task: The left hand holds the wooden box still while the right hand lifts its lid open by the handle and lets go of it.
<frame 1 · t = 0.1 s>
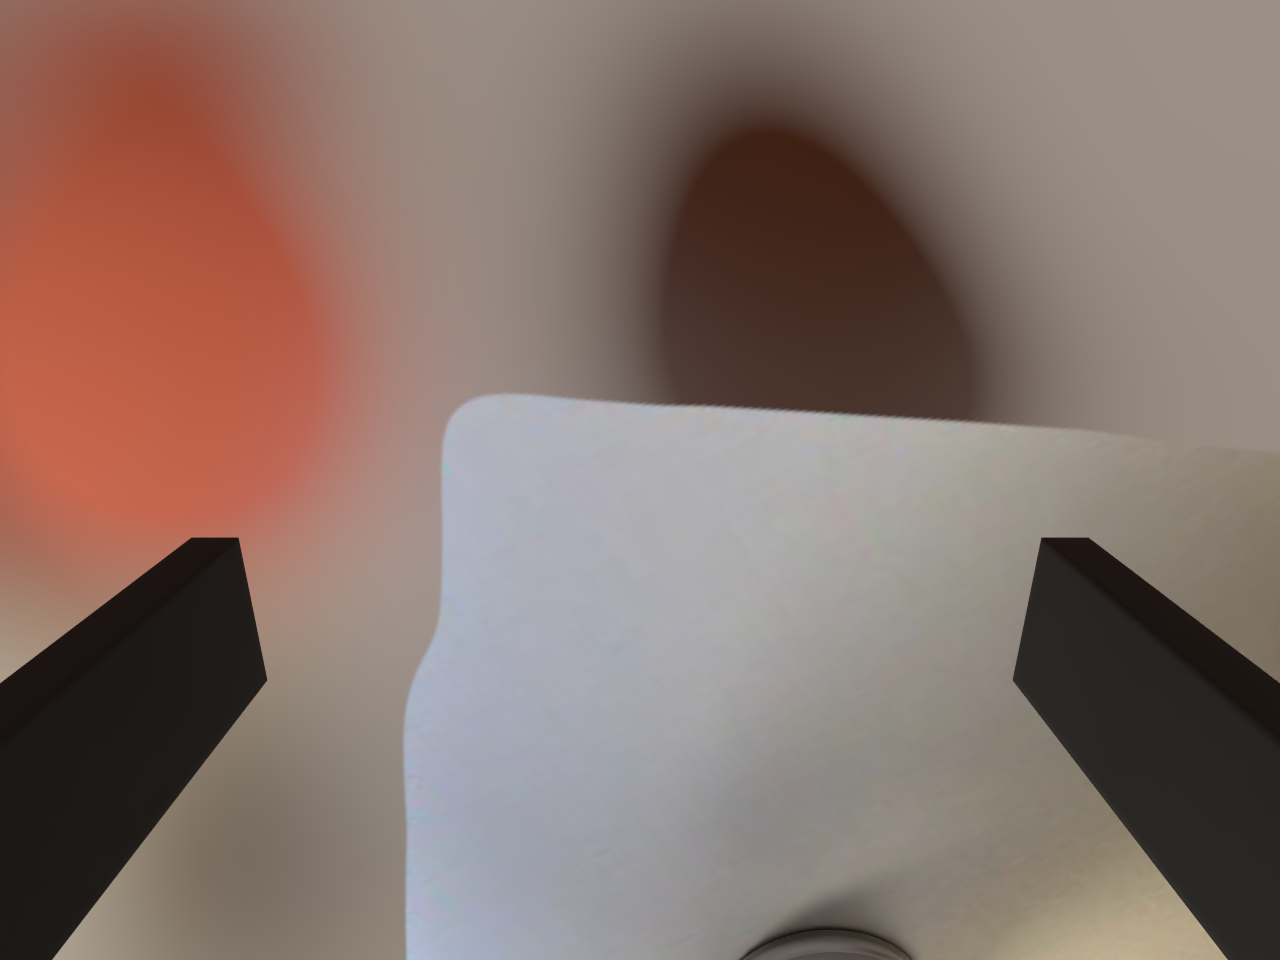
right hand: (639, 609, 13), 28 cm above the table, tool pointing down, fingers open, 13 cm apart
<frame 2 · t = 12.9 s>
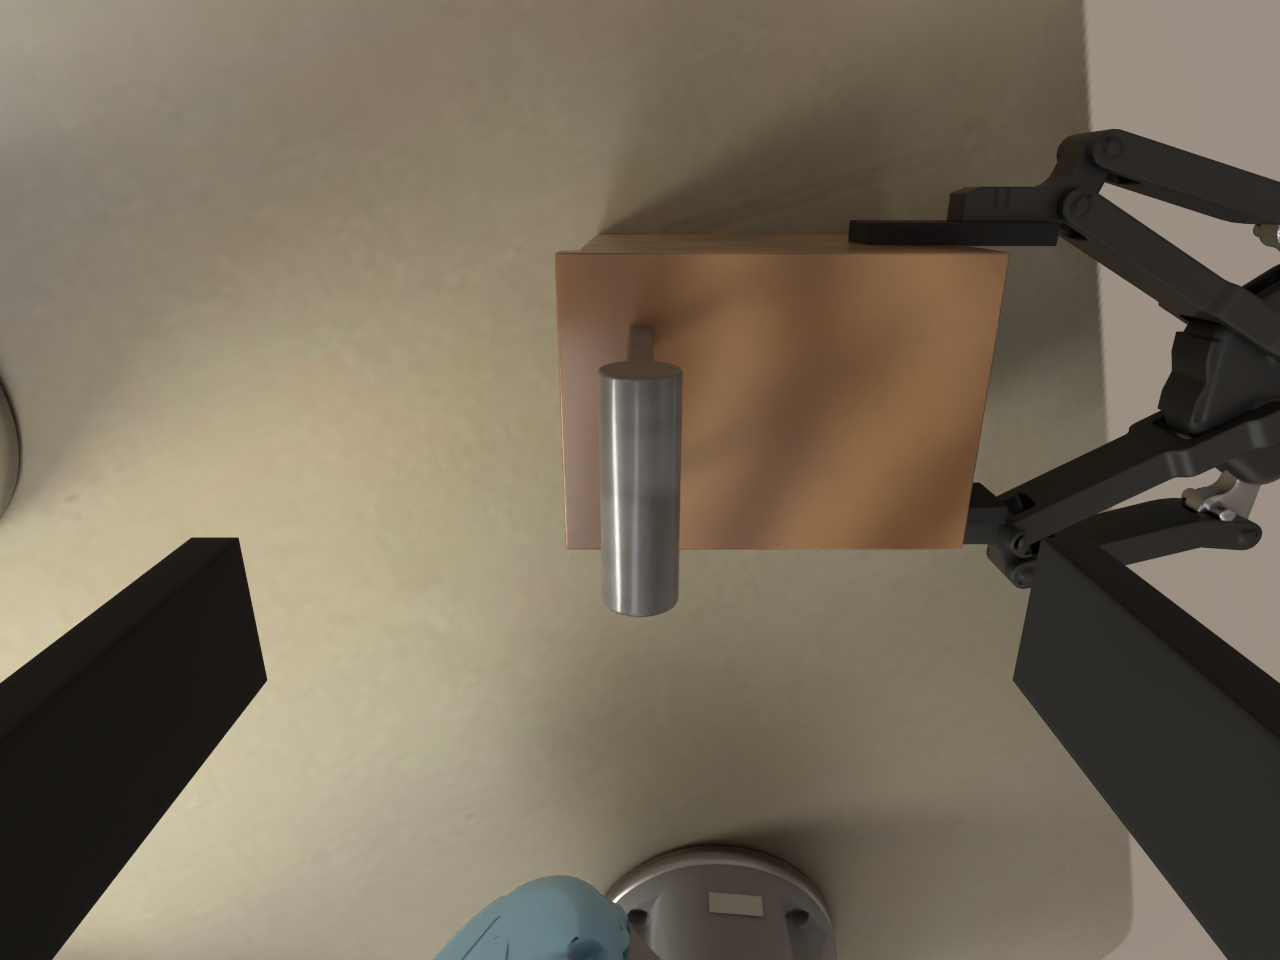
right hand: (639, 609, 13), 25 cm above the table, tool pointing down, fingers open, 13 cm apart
left hand: (844, 376, 29), fingers closed on wooden box, 10 cm apart
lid: (792, 444, 21), point 16 cm above the table, hinge at 0.0°
wooden box: (737, 343, 36), on the table, touching left hand
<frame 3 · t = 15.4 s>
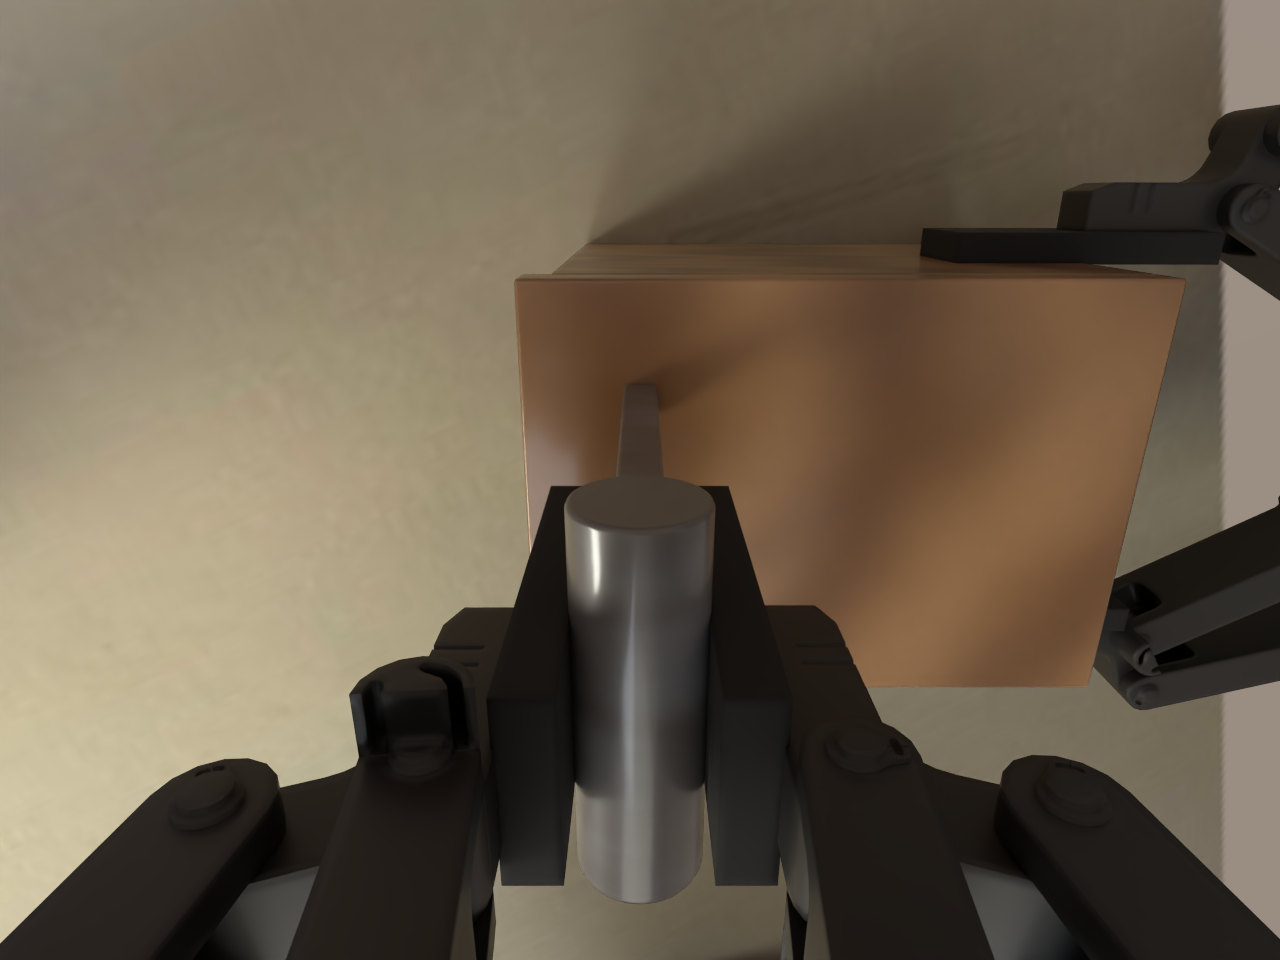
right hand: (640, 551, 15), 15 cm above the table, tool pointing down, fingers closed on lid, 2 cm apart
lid: (873, 575, 14), point 16 cm above the table, hinge at 0.1°, touching right hand
wooden box: (763, 381, 28), on the table, touching left hand
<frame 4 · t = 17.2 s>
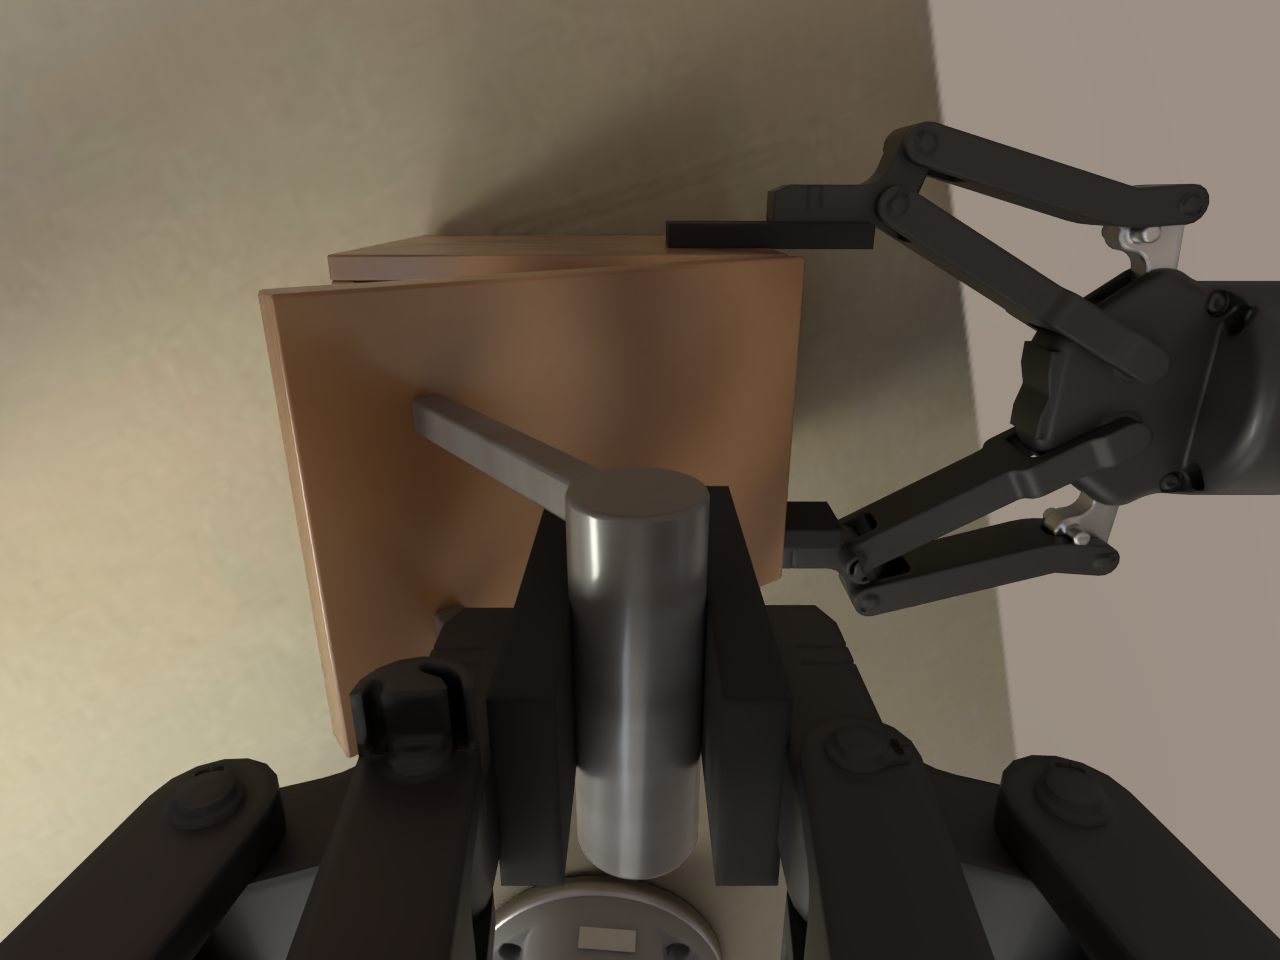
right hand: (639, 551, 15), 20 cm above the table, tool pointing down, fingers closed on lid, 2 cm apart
left hand: (665, 389, 27), fingers closed on wooden box, 10 cm apart
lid: (697, 525, 16), point 19 cm above the table, hinge at 36.4°, touching right hand
wooden box: (583, 352, 34), on the table, touching left hand
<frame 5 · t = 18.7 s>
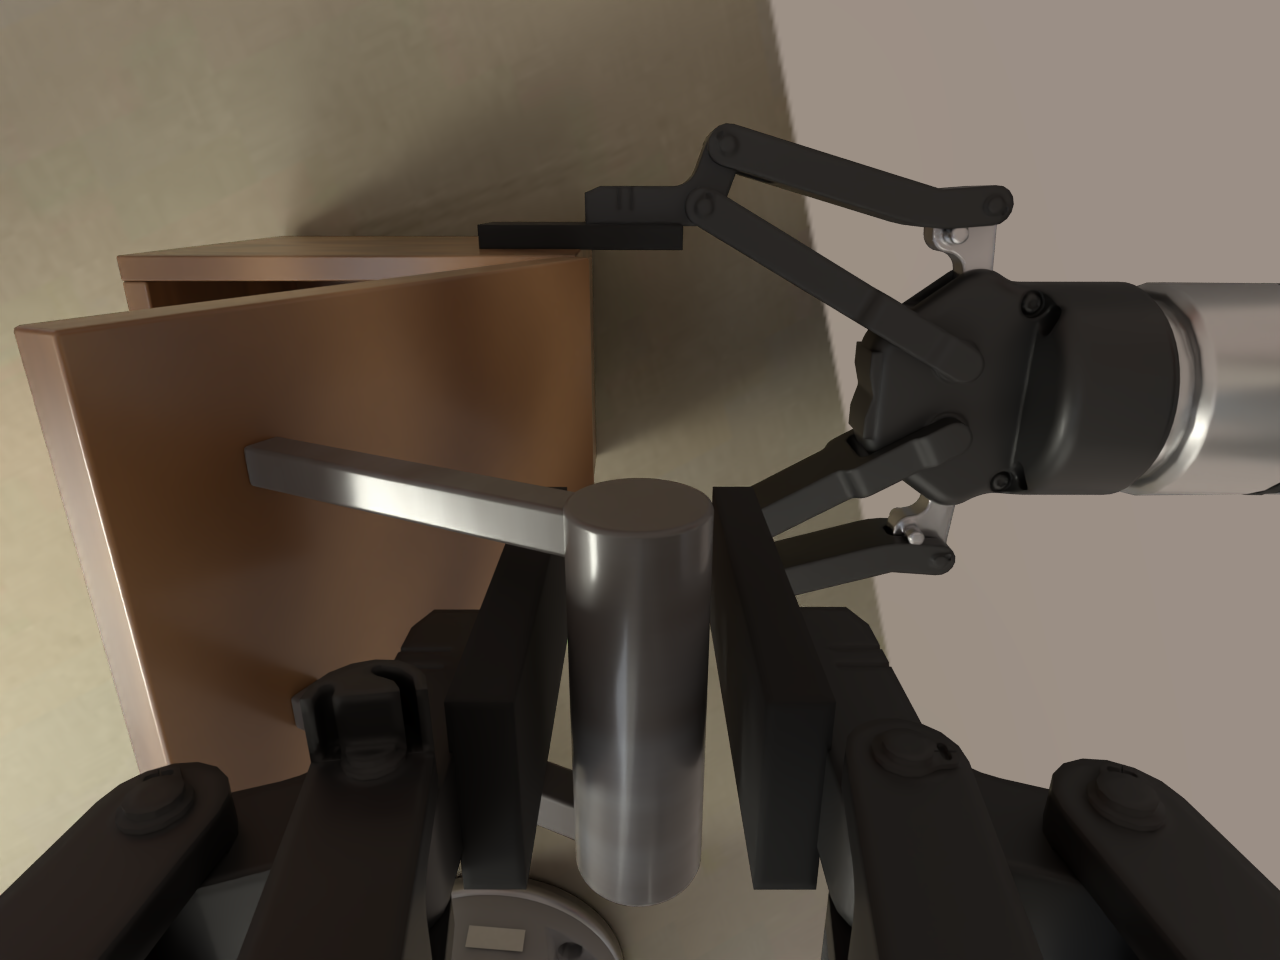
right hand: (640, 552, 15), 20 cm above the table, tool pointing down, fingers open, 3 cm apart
left hand: (496, 389, 27), fingers closed on wooden box, 10 cm apart
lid: (577, 534, 16), point 19 cm above the table, hinge at 62.9°
wooden box: (446, 352, 34), on the table, touching left hand
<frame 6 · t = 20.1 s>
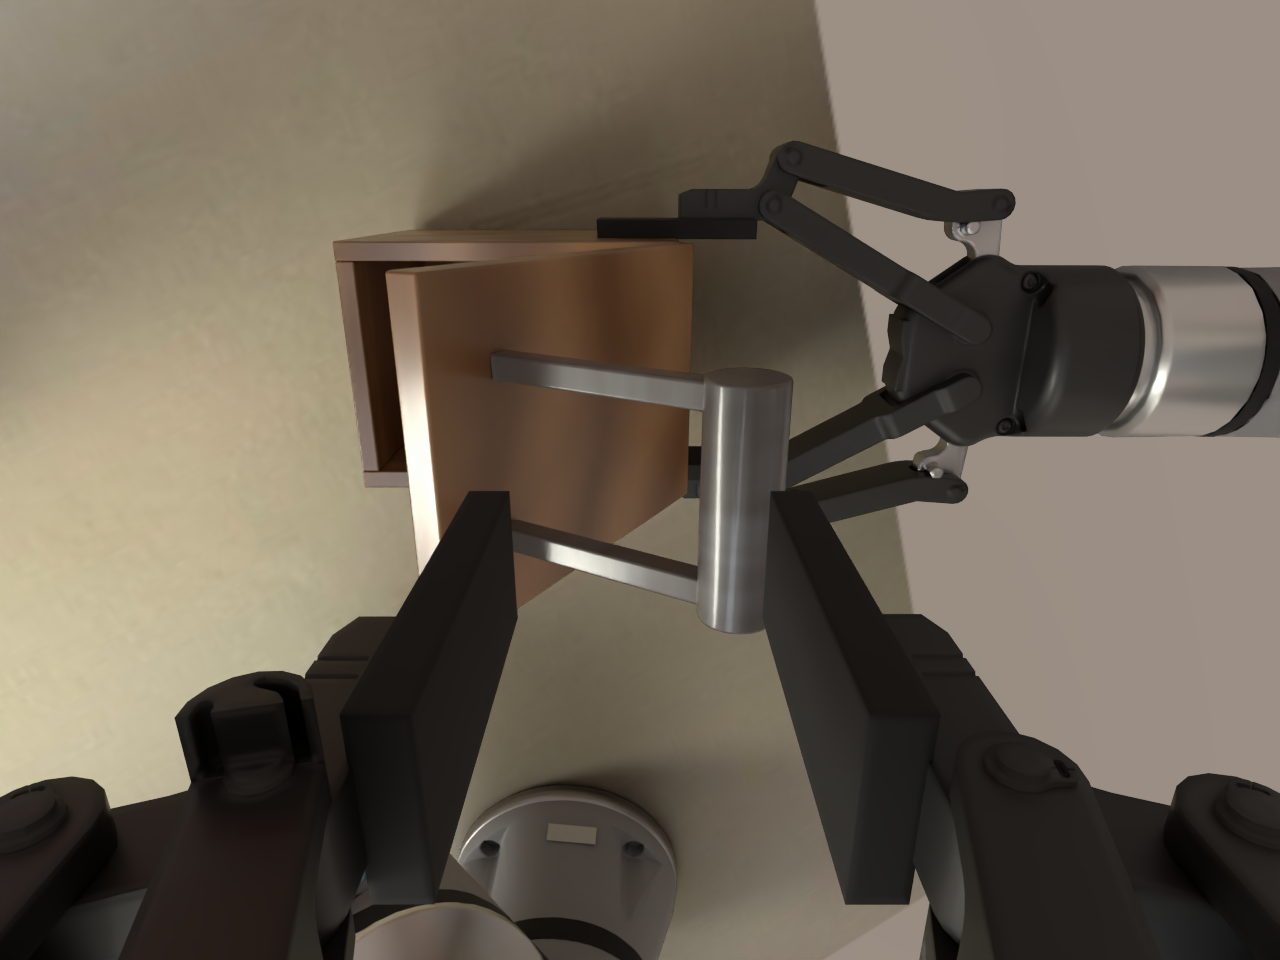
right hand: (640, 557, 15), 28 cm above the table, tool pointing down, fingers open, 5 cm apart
left hand: (600, 351, 34), fingers closed on wooden box, 10 cm apart
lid: (689, 432, 22), point 19 cm above the table, hinge at 58.5°
wooden box: (543, 327, 40), on the table, touching left hand
when the left hand's fingers open (7 cm above the table, at t = 22.2 s): wooden box stays where it is, on the table.
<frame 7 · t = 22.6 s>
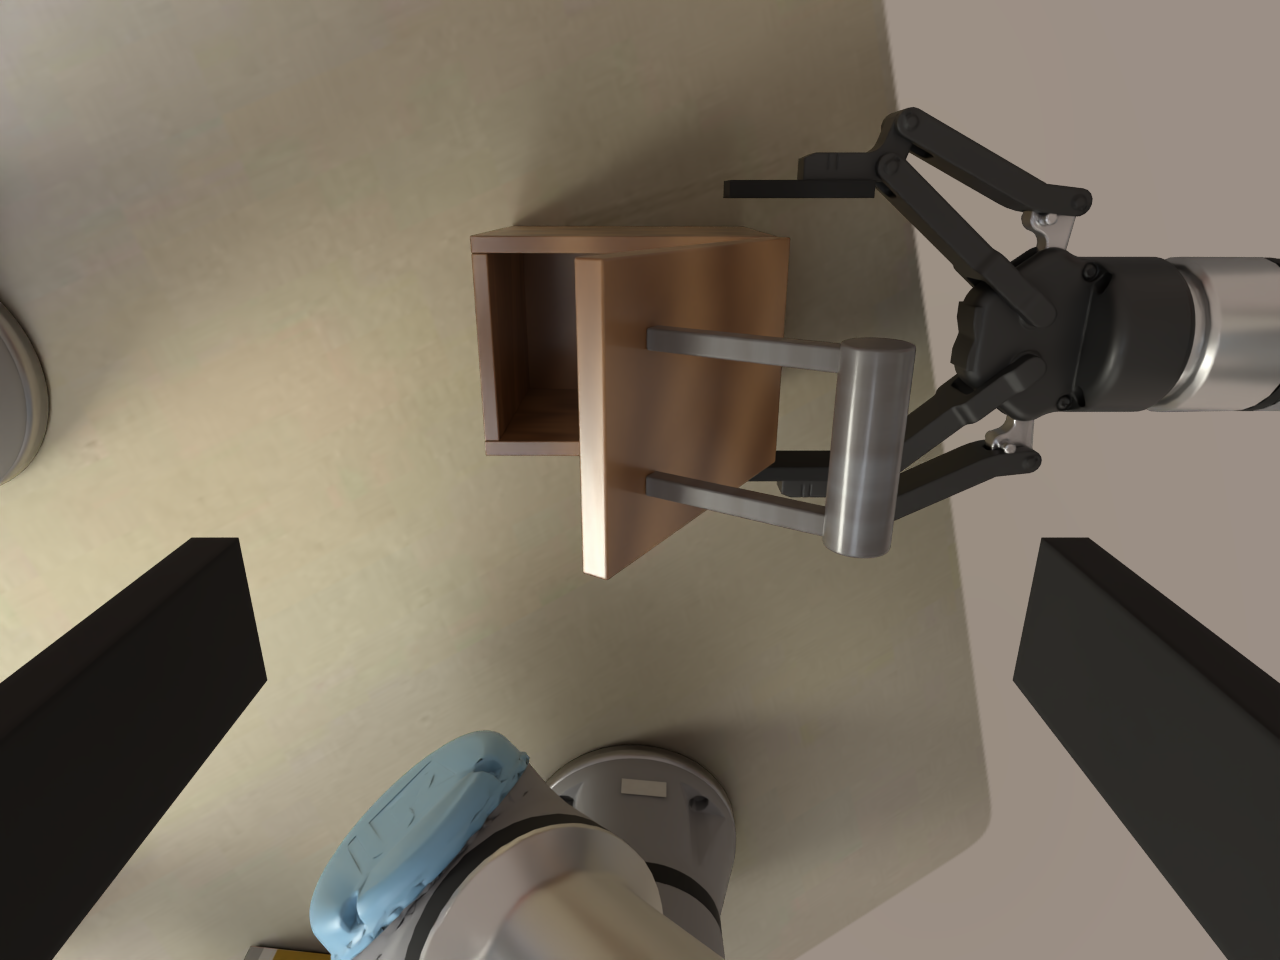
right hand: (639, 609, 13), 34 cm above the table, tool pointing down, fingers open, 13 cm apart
left hand: (720, 336, 38), fingers open, 13 cm apart
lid: (801, 399, 26), point 19 cm above the table, hinge at 57.9°
wooden box: (627, 315, 44), on the table
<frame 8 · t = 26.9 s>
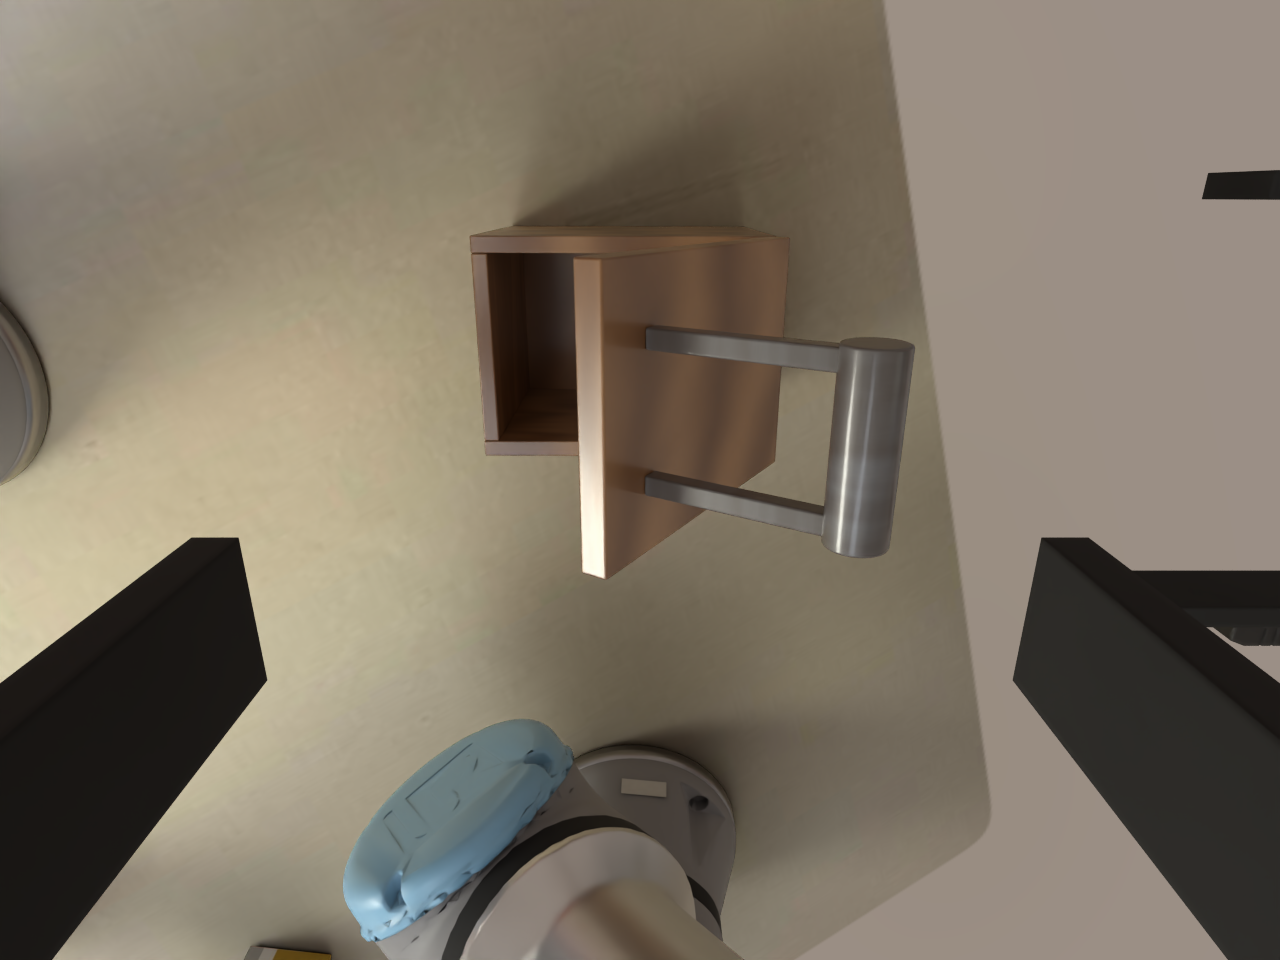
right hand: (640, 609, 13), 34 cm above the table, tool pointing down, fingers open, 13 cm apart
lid: (800, 399, 26), point 19 cm above the table, hinge at 57.9°
wooden box: (627, 315, 44), on the table
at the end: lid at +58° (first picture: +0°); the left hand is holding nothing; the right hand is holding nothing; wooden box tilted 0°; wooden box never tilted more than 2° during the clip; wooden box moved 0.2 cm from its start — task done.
